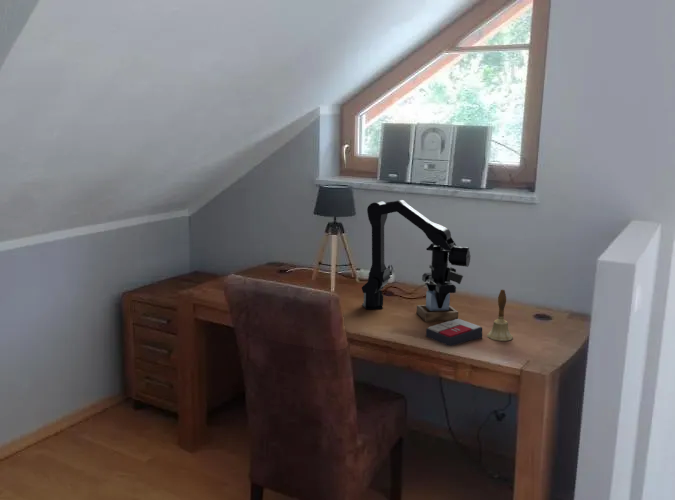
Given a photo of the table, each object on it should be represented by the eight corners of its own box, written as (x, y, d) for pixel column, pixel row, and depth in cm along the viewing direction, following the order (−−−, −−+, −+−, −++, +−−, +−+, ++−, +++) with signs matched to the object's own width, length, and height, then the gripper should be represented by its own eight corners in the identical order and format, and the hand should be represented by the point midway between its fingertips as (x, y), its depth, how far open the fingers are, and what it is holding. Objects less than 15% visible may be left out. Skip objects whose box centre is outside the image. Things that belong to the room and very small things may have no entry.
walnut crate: (425, 321, 232) (426, 313, 232) (416, 313, 242) (416, 305, 241) (457, 320, 235) (458, 311, 234) (447, 311, 244) (448, 303, 244)
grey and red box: (425, 326, 216) (458, 316, 225) (425, 339, 217) (458, 328, 226) (450, 336, 208) (483, 325, 216) (449, 349, 209) (482, 337, 217)
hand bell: (482, 337, 218) (485, 290, 214) (494, 331, 224) (498, 285, 220) (505, 343, 212) (508, 295, 209) (517, 337, 218) (521, 290, 215)
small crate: (430, 311, 235) (431, 294, 233) (425, 307, 239) (426, 290, 238) (449, 310, 236) (450, 293, 235) (444, 306, 241) (444, 290, 240)
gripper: (471, 268, 227) (468, 312, 230) (451, 257, 245) (449, 297, 248) (440, 269, 225) (438, 314, 228) (422, 257, 242) (420, 298, 246)
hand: (437, 305), depth 237 cm, fingers closed on small crate, 5 cm apart
